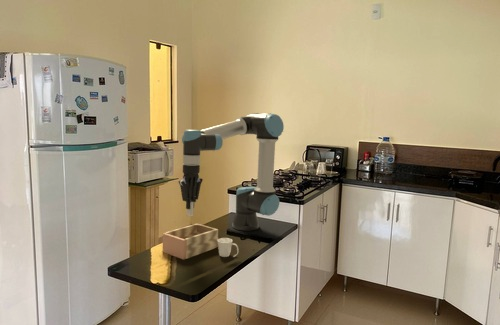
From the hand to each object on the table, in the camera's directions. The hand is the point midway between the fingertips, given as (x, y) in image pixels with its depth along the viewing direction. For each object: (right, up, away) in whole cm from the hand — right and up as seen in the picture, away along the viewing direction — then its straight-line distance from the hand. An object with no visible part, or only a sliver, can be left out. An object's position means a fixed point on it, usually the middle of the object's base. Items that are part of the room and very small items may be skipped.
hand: (189, 215), depth 175 cm
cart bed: (0, -17, +3) cm, 17 cm away
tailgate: (-6, -17, -5) cm, 19 cm away
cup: (+17, -19, -3) cm, 26 cm away
